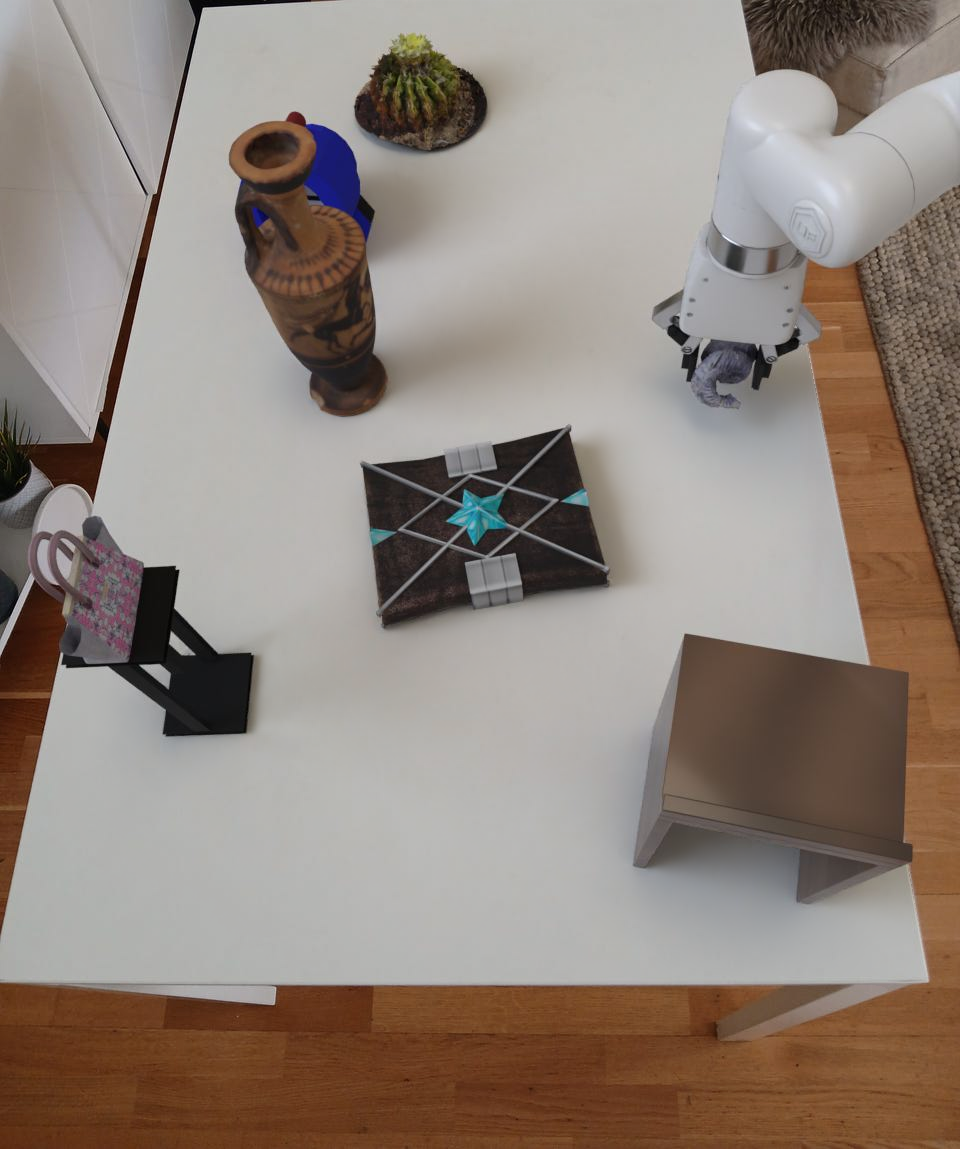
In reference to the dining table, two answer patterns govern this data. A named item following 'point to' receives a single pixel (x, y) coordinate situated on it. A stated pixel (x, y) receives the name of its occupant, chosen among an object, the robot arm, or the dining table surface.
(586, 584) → the book
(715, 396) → the seashell
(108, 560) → the handbag
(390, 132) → the cactus
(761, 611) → the dining table surface
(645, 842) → the shelf
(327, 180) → the alarm clock
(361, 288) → the vase
